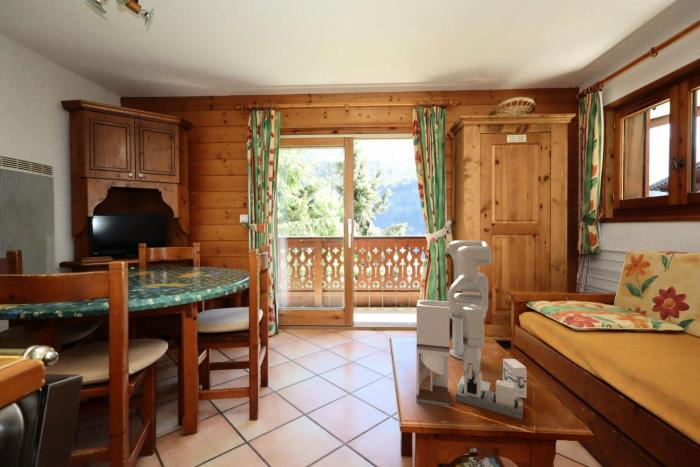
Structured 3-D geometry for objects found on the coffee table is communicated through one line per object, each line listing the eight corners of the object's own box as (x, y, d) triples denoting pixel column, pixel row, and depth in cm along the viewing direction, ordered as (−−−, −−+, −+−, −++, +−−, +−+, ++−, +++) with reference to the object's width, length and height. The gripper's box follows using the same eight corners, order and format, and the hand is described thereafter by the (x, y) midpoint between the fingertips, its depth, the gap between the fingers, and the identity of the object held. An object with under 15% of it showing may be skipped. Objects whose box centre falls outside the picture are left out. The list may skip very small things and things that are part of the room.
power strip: (460, 391, 112) (460, 382, 112) (523, 408, 101) (523, 398, 101) (455, 401, 105) (455, 392, 105) (522, 421, 94) (522, 410, 94)
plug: (466, 391, 109) (466, 368, 109) (481, 396, 106) (481, 371, 106) (464, 396, 105) (464, 372, 106) (480, 401, 103) (480, 376, 103)
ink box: (502, 387, 115) (502, 358, 115) (514, 387, 115) (514, 358, 115) (514, 399, 107) (514, 367, 107) (527, 399, 106) (527, 367, 107)
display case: (416, 401, 105) (416, 305, 105) (417, 387, 115) (417, 299, 115) (449, 406, 102) (449, 308, 102) (447, 391, 112) (447, 301, 112)
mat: (462, 377, 123) (462, 375, 123) (490, 384, 117) (490, 382, 117) (456, 388, 114) (456, 387, 114) (487, 397, 108) (487, 395, 108)
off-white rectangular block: (496, 404, 103) (496, 379, 103) (514, 409, 100) (514, 383, 100) (495, 410, 100) (495, 384, 100) (514, 415, 97) (514, 388, 97)
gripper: (466, 332, 115) (466, 378, 115) (457, 345, 101) (457, 397, 101) (486, 335, 111) (486, 383, 111) (480, 350, 97) (480, 404, 97)
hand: (472, 389), depth 106 cm, fingers closed on plug, 3 cm apart
